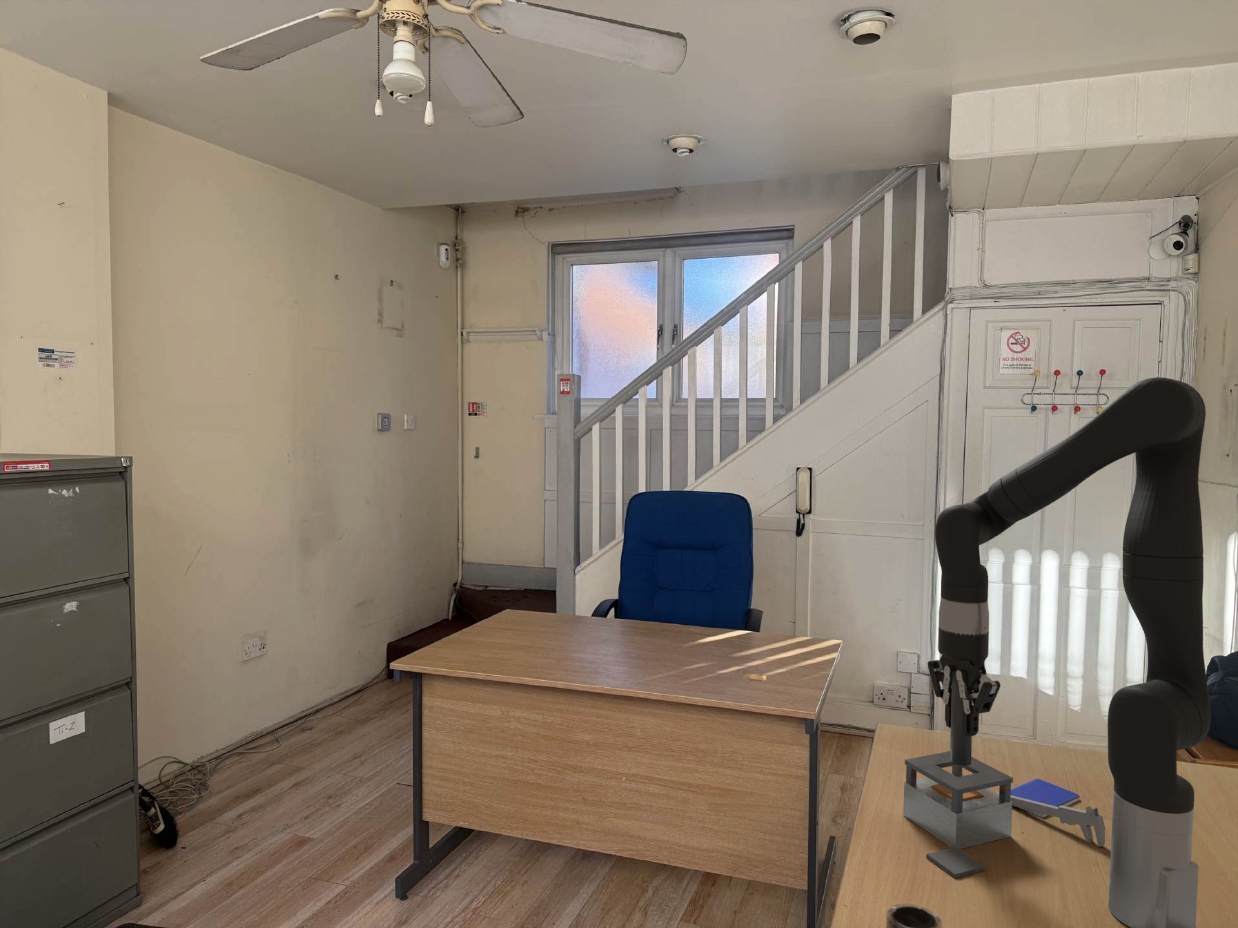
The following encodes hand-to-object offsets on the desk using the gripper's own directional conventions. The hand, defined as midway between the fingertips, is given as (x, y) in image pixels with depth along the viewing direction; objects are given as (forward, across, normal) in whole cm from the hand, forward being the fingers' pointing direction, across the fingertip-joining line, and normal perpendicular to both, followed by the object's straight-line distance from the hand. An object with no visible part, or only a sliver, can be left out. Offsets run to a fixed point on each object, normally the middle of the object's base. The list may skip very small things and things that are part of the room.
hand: (961, 730), depth 128 cm
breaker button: (+17, +5, -4) cm, 18 cm away
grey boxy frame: (+19, +5, -4) cm, 20 cm away
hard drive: (+20, +7, -26) cm, 33 cm away
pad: (+19, -4, +5) cm, 20 cm away
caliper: (+19, +1, -20) cm, 28 cm away
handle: (+5, 0, 0) cm, 5 cm away
